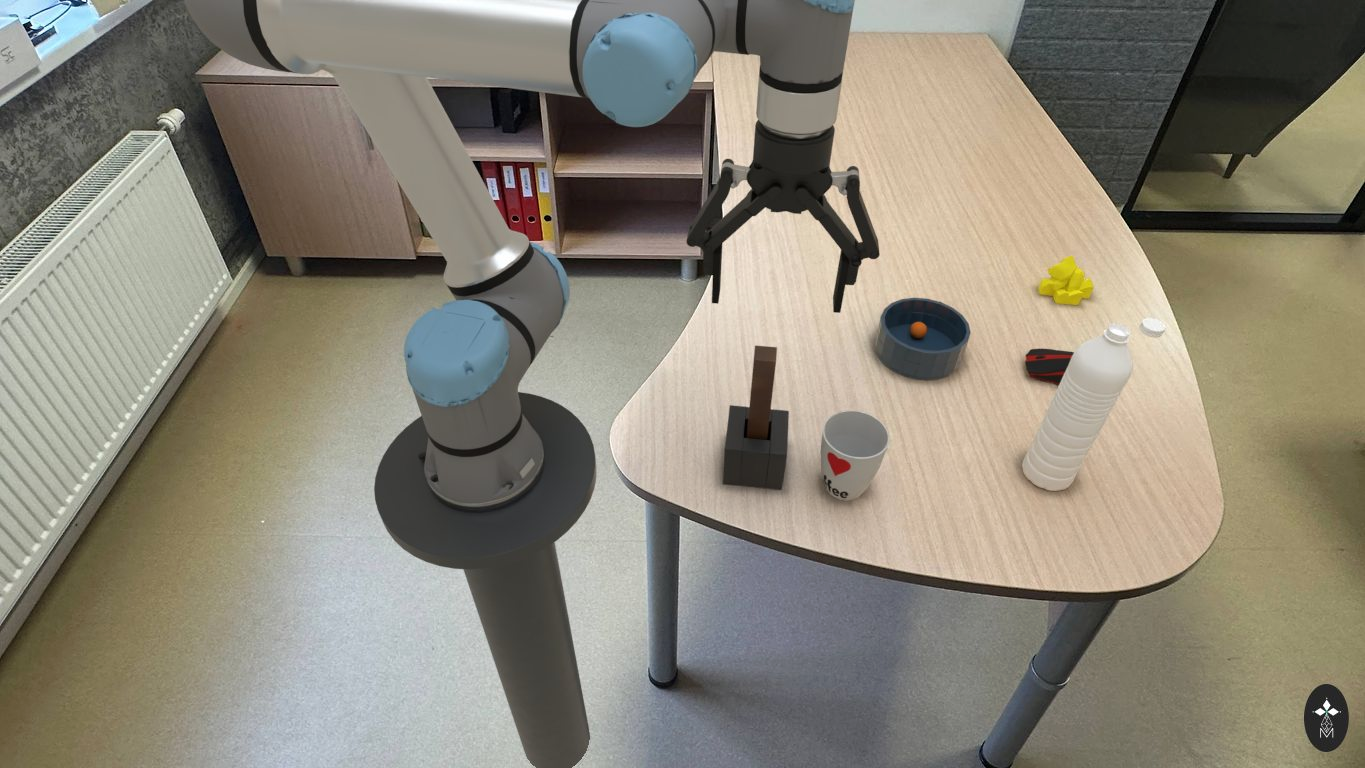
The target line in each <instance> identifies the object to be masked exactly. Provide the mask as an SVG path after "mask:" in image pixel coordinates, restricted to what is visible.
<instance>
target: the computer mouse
mask: <svg viewBox="0 0 1365 768" xmlns="http://www.w3.org/2000/svg"><path fill="white" fill-rule="evenodd" d="M1074 352H1075V351H1069V350H1068V351H1067V350H1062V349H1061V350H1059V349H1053V348H1052V349H1051V348H1030V349H1029V350H1028V352H1027V353H1026V354H1025V361H1024V364H1025V368H1026V371H1027V374H1028V376H1029V377H1030V378H1031V379H1033V380H1034V379H1035V380H1038V381H1040V382H1046V383H1050V384H1054V385H1056V386H1059V384H1060V382H1061V380H1062V378H1063V376H1064V373H1065V371H1066V369H1067V367H1068V365H1069V362H1070V360H1071V357H1072V355H1073V353H1074Z"/></svg>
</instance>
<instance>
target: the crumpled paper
mask: <svg viewBox="0 0 1365 768" xmlns="http://www.w3.org/2000/svg"><path fill="white" fill-rule="evenodd" d="M1046 270H1047V273H1048V275H1049V276H1050V278H1042V279H1041V280H1040V283H1039V285H1038V288H1037V290H1038V294H1039V295H1041V296H1052V298H1053V301H1054V303H1055V304H1059V305H1069V306H1070V305H1071V306H1079V305H1080V303H1081V301H1082V299H1086V300H1089V299H1090V297H1091V295H1092V293H1093V290H1094V288H1095V287H1094V283H1093V281H1092V278H1091V277H1088V278H1085V271H1084V270H1082V269H1081V268H1080V267H1078V265H1077V263H1076V261H1075V257H1074V255H1069V256H1066V257H1064V258H1063V259H1061V261H1060V262H1059V263H1057V264H1055V265H1052V266H1050V267H1049V268H1048V267H1047V268H1046Z"/></svg>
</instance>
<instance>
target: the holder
mask: <svg viewBox="0 0 1365 768" xmlns="http://www.w3.org/2000/svg"><path fill="white" fill-rule="evenodd" d="M728 409H729V410H728V418H727V426H726V435H725V443H724V445H725V446H724V453H723V454H724V456H723V468H722V469H723V471H722V485H728V486H737V487H738V486H739V487H747V488H748V487H749V488H757V489H766V490H767V489H768V490H777V491H782V490H783V484H784V479H785V472H786V465H787V457H788V440H789V420H790V419H789V417H790V412H789V410H786V409H785V410H784V409H783V410H782V409H773V408H771V410H770V418H769V427H768V435H767V440H761V439H750V438H747V428H748V417H749V406H743V405H732V404H731V405H729V408H728Z"/></svg>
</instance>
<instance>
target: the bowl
mask: <svg viewBox="0 0 1365 768" xmlns="http://www.w3.org/2000/svg"><path fill="white" fill-rule="evenodd" d="M915 322H922V323H924V324H925V325H926V327H927V333H926V335H925V336H924V337H922V338H915V337H913V336H912V335H911V333H910V327H911V325H912V324H913V323H915ZM970 336H971V328H970V324H969V322H968V320H967V319H966V318H965V317H964V315H963V314H962V313H961V312H959V311H958V310H957V309H956V308H955V307H952V306H950V305H948V304H947V303H944V302H941V301H938V300H934V299H931V298H926V297H925V298H924V297H907V298H902V299H898V300H896V301H893V302H891V303H889V304H888V305H887V306H886V307H885V308H883V311H882V312H881V314H880V318H879V323H878V327H877V331H876V335H875V341H874V350H875V354H876V356H877V358H878V360H880V362H881V363H882V364H883V365H884V366H885V367H886V368H887V369H889V370H890V371H892V372H894V373H896V374H897V375H900V376H902V377H905V378H909V379H913V380H917V381H936V380H942V379H945V378H948V377H949V376H951V375H952V374H954V373H955V372H957V370H958V368H960V366H961V363H962V360H963V357H964V354H965V351H966V349H967V345H968V343H969V339H970Z"/></svg>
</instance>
